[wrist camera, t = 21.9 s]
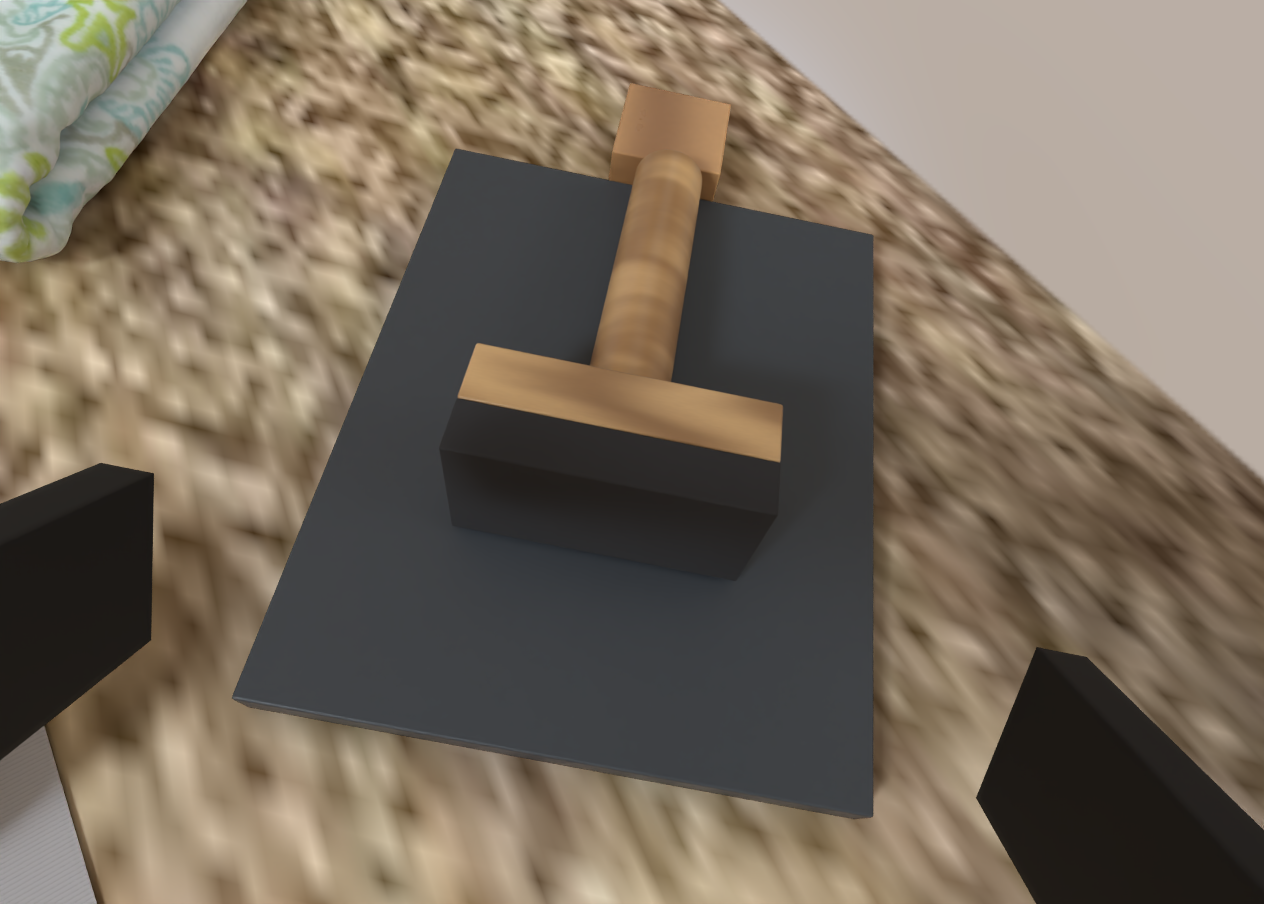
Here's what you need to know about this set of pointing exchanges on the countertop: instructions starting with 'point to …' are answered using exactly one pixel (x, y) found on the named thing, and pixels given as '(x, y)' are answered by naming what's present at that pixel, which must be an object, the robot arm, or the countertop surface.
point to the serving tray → (587, 582)
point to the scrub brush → (620, 420)
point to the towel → (85, 101)
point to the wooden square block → (670, 133)
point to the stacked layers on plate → (38, 831)
